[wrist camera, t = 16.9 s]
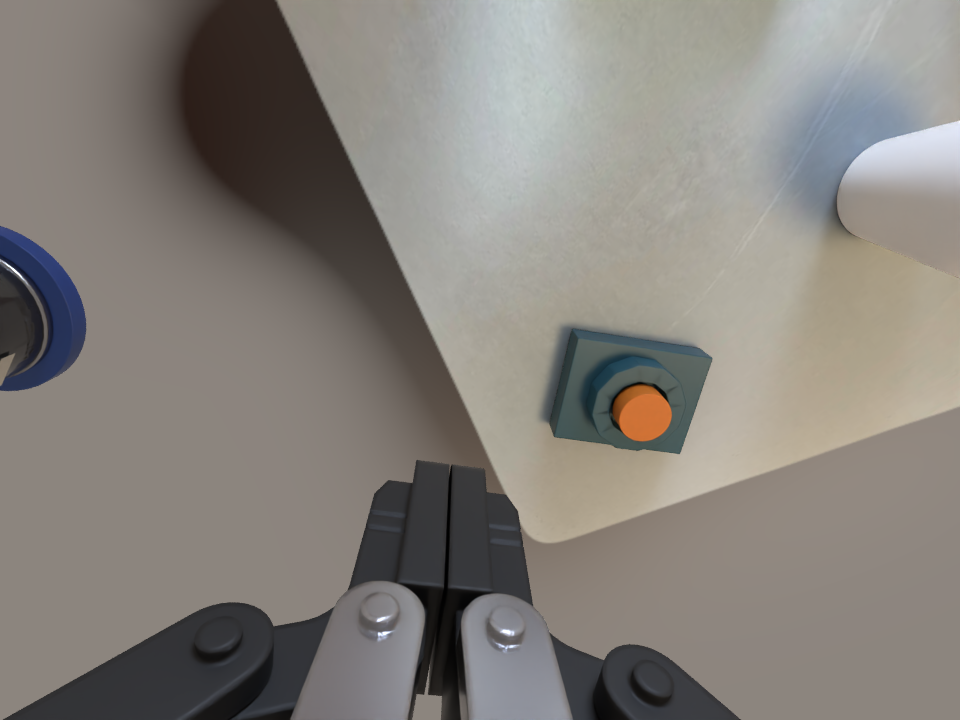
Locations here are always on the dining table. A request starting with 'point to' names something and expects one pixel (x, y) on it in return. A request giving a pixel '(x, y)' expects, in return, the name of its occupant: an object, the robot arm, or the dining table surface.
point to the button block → (615, 366)
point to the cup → (908, 196)
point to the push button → (642, 412)
